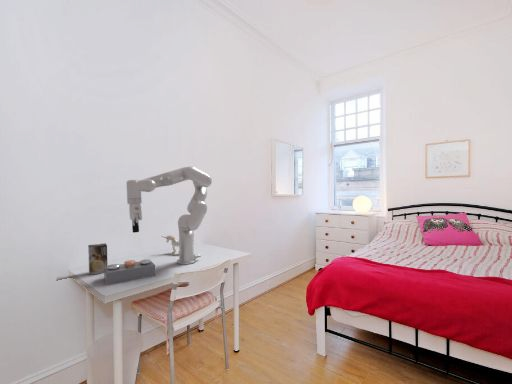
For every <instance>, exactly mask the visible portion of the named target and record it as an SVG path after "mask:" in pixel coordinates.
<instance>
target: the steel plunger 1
mask: <svg viewBox="0 0 512 384" xmlns="http://www.w3.org/2000/svg"><path fill="white" fill-rule="evenodd" d="M119 268H120V264H119V263H113V264H109V265H108V270H116V269H119Z"/></svg>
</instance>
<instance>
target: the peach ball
mask: <svg viewBox="0 0 512 384" xmlns="http://www.w3.org/2000/svg"><path fill="white" fill-rule="evenodd" d="M136 262H137V261H136V260H135V259H129V260H128V259H127V260H126V261H124V263H123V264H124V265H125V266H126V268H128V267H134V265H135V264H136Z"/></svg>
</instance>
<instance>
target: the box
mask: <svg viewBox="0 0 512 384" xmlns="http://www.w3.org/2000/svg"><path fill="white" fill-rule="evenodd" d="M119 265H120V268H119V269H116V270H108V266H109V265H108V266H107V267H104V275H103V277H104V281H105V283H106V285H112V284H119V283H123V282H128V281H134V280H139V279H143V278H145V279H146V278H150V277H154V276H156V264H155V263H154V262H153V261H152V260H151V263H150V264H147V265H141V264H140V261H136V264H135V265H134V267H128V268H126V266H125V265H124V263H122V264H119Z"/></svg>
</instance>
